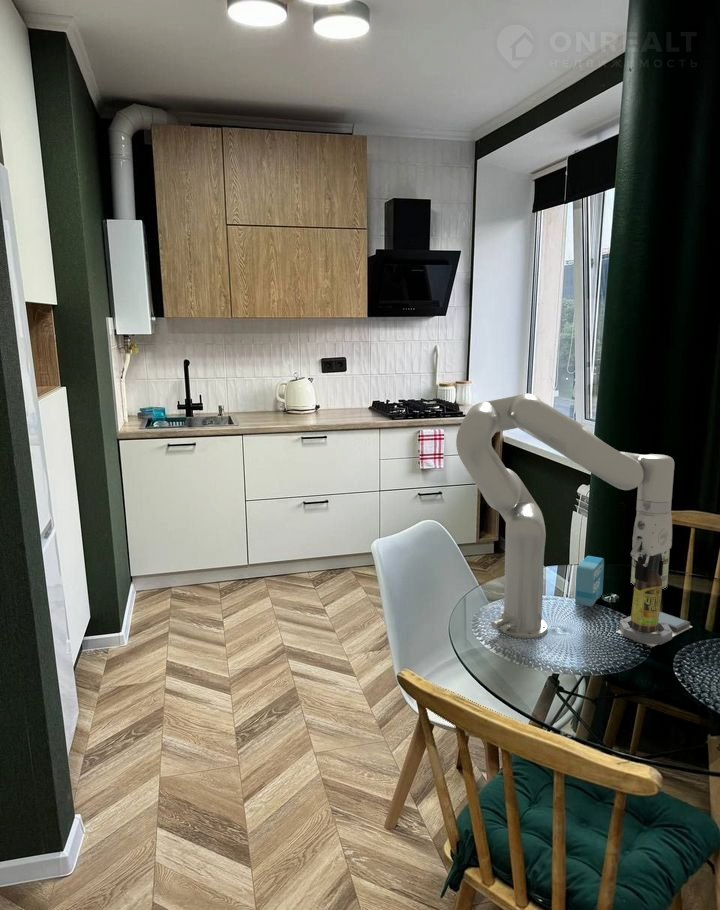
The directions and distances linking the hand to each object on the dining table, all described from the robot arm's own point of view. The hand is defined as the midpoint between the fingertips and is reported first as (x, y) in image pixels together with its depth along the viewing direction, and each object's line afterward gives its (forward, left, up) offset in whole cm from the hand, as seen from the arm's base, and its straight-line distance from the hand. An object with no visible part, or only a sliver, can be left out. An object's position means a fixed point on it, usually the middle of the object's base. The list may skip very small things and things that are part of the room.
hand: (648, 576), depth 158 cm
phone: (+10, 0, -15) cm, 18 cm away
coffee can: (+33, +19, -16) cm, 41 cm away
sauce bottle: (0, 0, -14) cm, 14 cm away
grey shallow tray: (+4, 0, -16) cm, 17 cm away
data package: (+8, +22, -16) cm, 29 cm away
